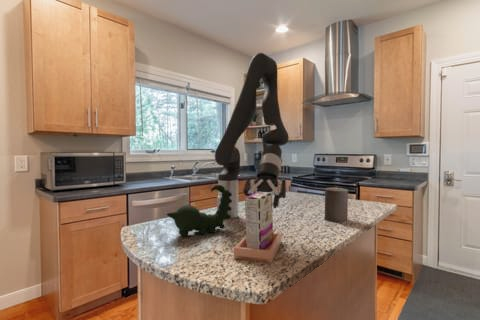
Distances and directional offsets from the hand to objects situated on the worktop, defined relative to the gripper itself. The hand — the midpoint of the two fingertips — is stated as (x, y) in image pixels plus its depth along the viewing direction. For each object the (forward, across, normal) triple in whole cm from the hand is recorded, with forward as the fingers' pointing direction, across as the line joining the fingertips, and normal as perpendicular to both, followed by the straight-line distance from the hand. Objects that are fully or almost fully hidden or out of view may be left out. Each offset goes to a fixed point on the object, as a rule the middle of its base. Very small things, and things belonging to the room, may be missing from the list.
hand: (261, 206), depth 86 cm
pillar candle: (-20, +24, +38) cm, 49 cm away
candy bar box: (+12, +1, +6) cm, 13 cm away
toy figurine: (+6, -24, +13) cm, 28 cm away
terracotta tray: (+12, +1, +6) cm, 13 cm away
